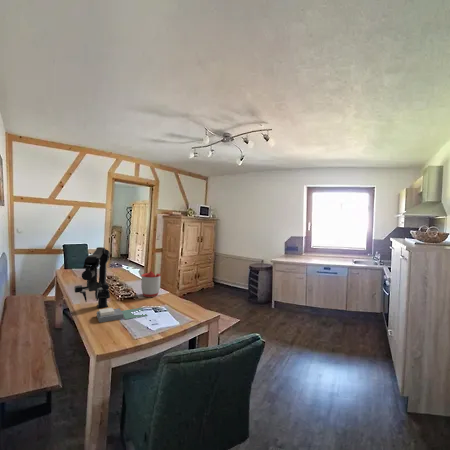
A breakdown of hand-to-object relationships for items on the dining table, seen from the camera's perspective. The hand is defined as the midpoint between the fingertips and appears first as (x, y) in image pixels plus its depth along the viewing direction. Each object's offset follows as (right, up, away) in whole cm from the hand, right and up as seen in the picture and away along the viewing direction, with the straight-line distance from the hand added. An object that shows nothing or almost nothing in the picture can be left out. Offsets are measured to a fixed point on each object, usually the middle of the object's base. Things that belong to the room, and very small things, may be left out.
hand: (91, 301), depth 170 cm
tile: (+7, -9, +5) cm, 13 cm away
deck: (+9, -12, +6) cm, 16 cm away
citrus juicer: (+21, -11, +58) cm, 63 cm away
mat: (+21, -12, +14) cm, 29 cm away
